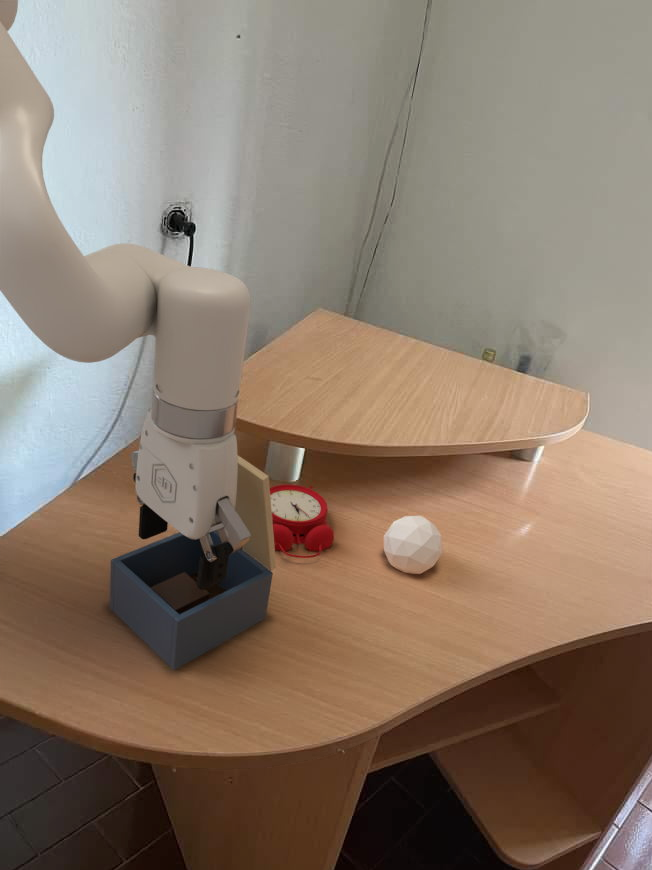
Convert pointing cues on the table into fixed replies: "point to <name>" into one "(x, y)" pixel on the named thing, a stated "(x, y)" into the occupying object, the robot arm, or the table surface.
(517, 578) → the table surface
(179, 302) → the robot arm
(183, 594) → the block
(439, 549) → the geometric ball
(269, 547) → the lid
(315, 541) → the alarm clock
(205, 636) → the chest
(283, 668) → the table surface
